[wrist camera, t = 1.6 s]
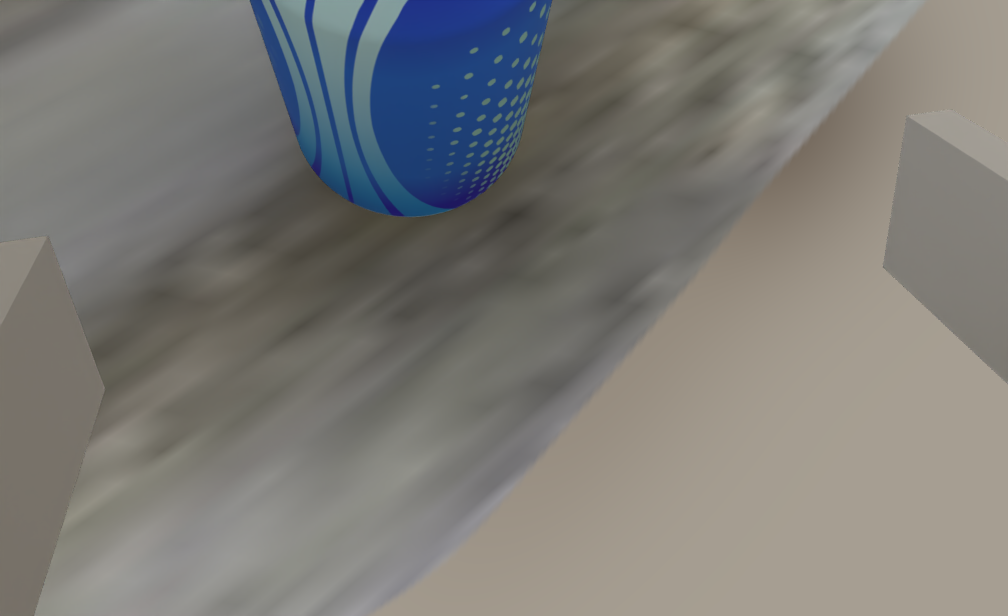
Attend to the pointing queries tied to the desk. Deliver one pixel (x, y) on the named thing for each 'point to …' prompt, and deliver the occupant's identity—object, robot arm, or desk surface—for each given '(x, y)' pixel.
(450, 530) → the desk surface
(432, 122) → the beer can
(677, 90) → the desk surface
